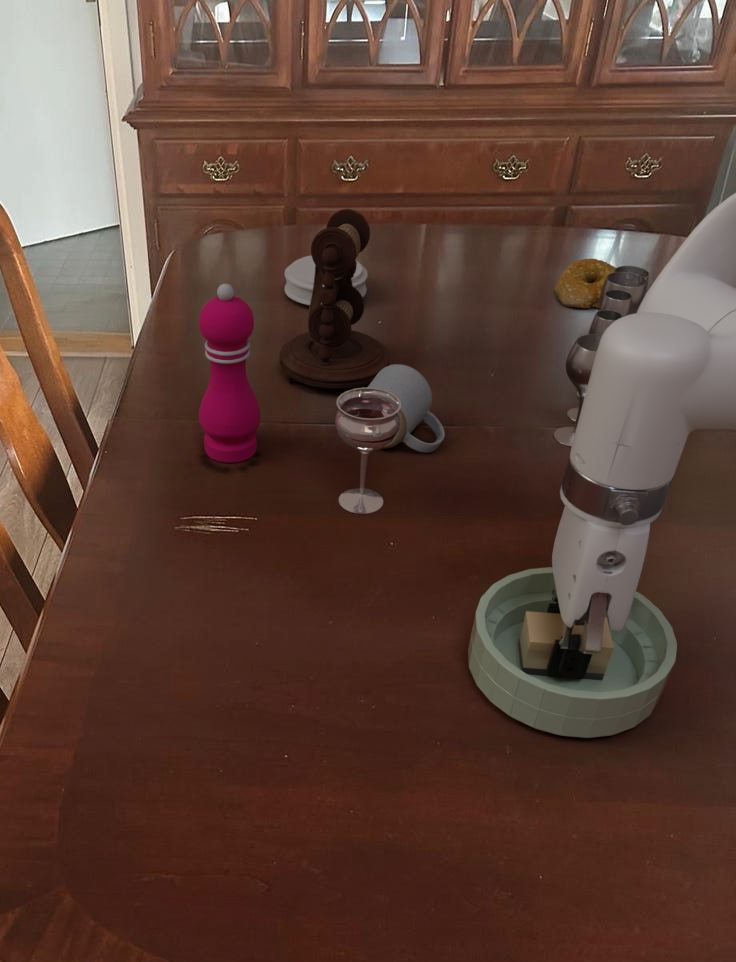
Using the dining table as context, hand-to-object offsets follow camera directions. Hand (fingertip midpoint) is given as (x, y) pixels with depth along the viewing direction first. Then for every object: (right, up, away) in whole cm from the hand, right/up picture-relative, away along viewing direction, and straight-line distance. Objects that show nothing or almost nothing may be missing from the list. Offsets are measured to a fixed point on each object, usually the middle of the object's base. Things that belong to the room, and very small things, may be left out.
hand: (561, 655), depth 82 cm
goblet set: (+16, +33, +37) cm, 52 cm away
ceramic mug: (-10, +26, +30) cm, 41 cm away
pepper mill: (-30, +24, +29) cm, 48 cm away
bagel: (+23, +54, +59) cm, 83 cm away
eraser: (0, -1, 0) cm, 1 cm away
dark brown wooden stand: (-17, +38, +43) cm, 59 cm away
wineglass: (-16, +17, +21) cm, 31 cm away
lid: (-17, +55, +61) cm, 84 cm away
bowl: (0, -2, +1) cm, 2 cm away
